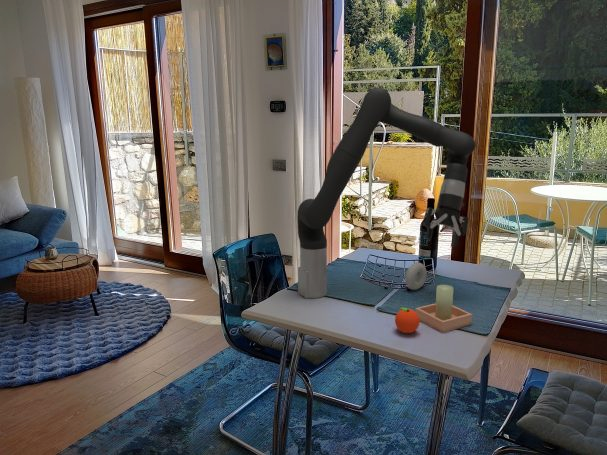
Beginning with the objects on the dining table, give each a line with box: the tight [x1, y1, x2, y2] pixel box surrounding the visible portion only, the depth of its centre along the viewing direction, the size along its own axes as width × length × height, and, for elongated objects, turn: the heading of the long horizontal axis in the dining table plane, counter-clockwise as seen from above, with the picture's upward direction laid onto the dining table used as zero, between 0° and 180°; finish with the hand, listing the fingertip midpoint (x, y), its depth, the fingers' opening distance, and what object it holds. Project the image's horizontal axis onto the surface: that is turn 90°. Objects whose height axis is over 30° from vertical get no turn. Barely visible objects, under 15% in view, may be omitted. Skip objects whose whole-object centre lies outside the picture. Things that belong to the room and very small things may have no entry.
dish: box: [414, 302, 473, 334], centre depth 144 cm, size 12×12×3 cm
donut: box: [404, 262, 428, 291], centre depth 170 cm, size 10×4×10 cm, turn 130°
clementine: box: [394, 307, 421, 334], centre depth 137 cm, size 8×7×7 cm
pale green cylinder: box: [435, 284, 454, 321], centre depth 143 cm, size 5×5×10 cm
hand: (440, 243), depth 155 cm, fingers open, 8 cm apart
